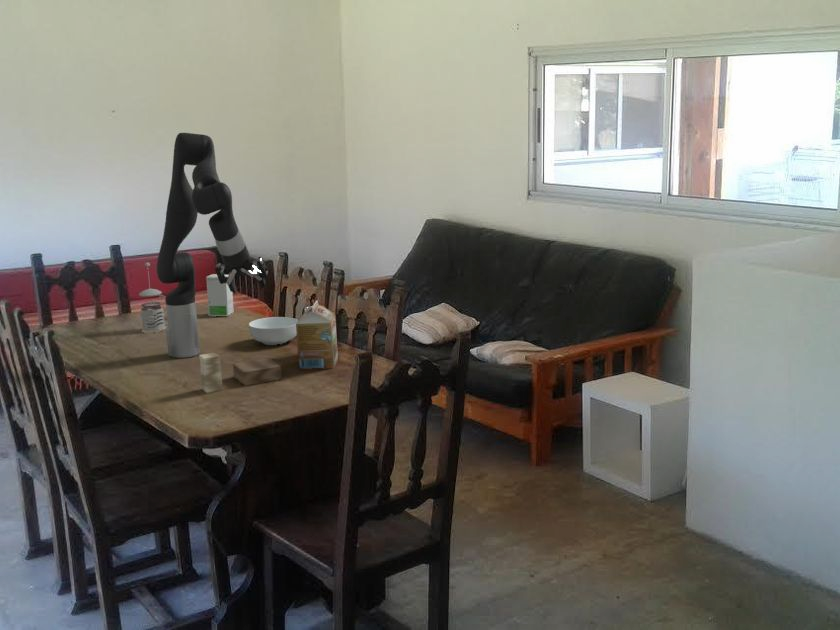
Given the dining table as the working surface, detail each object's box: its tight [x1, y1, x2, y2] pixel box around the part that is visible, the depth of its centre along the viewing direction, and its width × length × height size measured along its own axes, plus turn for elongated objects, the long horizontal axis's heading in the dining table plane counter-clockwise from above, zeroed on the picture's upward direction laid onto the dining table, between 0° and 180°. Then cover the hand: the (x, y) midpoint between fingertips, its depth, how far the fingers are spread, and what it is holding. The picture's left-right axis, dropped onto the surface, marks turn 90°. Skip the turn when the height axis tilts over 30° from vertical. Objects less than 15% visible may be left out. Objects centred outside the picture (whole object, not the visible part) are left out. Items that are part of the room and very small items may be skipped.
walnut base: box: [232, 357, 282, 387], centre depth 275 cm, size 11×11×4 cm
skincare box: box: [205, 273, 235, 317], centre depth 361 cm, size 8×7×16 cm
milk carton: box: [296, 299, 339, 370], centre depth 286 cm, size 11×11×19 cm
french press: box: [138, 261, 167, 331], centre depth 340 cm, size 10×12×25 cm
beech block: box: [198, 352, 224, 394], centre depth 265 cm, size 5×5×10 cm
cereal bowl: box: [248, 316, 299, 346], centre depth 316 cm, size 17×17×7 cm
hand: (249, 289), depth 274 cm, fingers open, 8 cm apart
